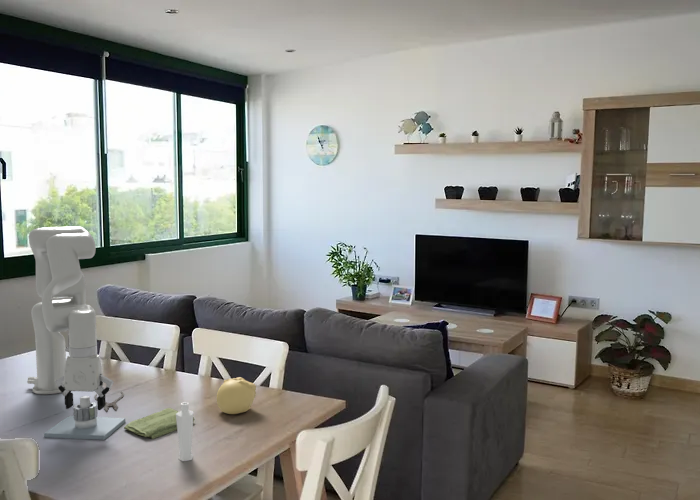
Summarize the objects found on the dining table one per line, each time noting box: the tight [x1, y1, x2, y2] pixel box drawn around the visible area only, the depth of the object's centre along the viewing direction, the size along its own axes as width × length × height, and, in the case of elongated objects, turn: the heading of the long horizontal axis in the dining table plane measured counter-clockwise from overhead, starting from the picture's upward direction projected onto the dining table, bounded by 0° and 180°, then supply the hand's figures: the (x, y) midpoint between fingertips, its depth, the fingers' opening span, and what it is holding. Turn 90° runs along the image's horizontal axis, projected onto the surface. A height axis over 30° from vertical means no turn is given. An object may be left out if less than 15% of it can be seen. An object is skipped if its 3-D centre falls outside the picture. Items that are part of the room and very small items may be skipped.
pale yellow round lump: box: [216, 376, 257, 415], centre depth 210 cm, size 11×12×11 cm
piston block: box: [43, 395, 126, 441], centre depth 194 cm, size 18×14×10 cm
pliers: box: [93, 391, 125, 413], centre depth 220 cm, size 10×1×20 cm
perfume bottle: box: [176, 401, 194, 462], centre depth 174 cm, size 5×4×15 cm
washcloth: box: [123, 407, 195, 440], centre depth 197 cm, size 13×18×3 cm
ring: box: [72, 401, 98, 421], centre depth 194 cm, size 6×6×4 cm
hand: (85, 408), depth 194 cm, fingers open, 9 cm apart
